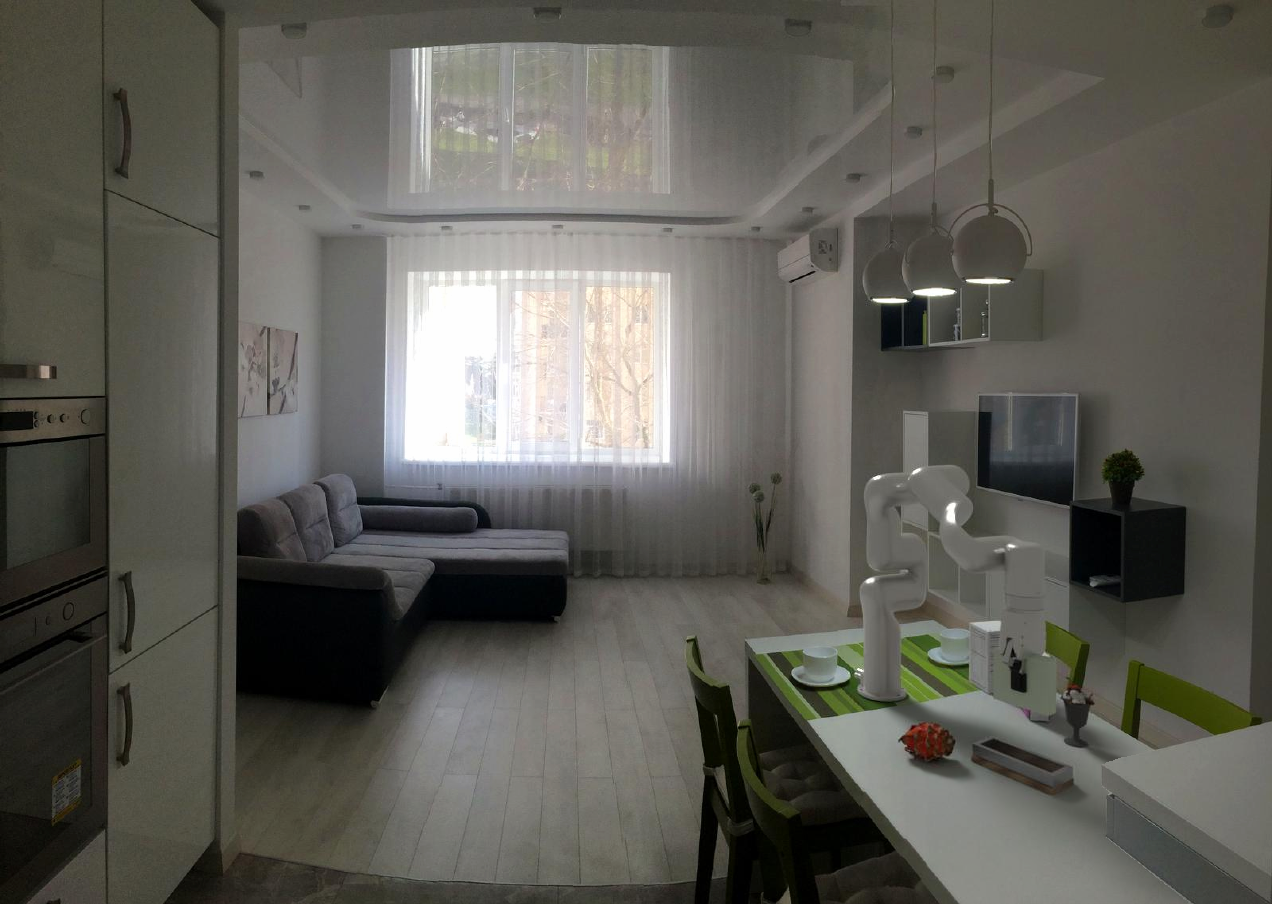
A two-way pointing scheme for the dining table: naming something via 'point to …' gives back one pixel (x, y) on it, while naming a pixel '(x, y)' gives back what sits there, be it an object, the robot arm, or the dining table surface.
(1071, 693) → the sundae
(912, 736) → the dragon fruit
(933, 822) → the dining table surface
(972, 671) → the supplement box
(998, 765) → the open rectangular box
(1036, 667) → the pale green rectangular block
